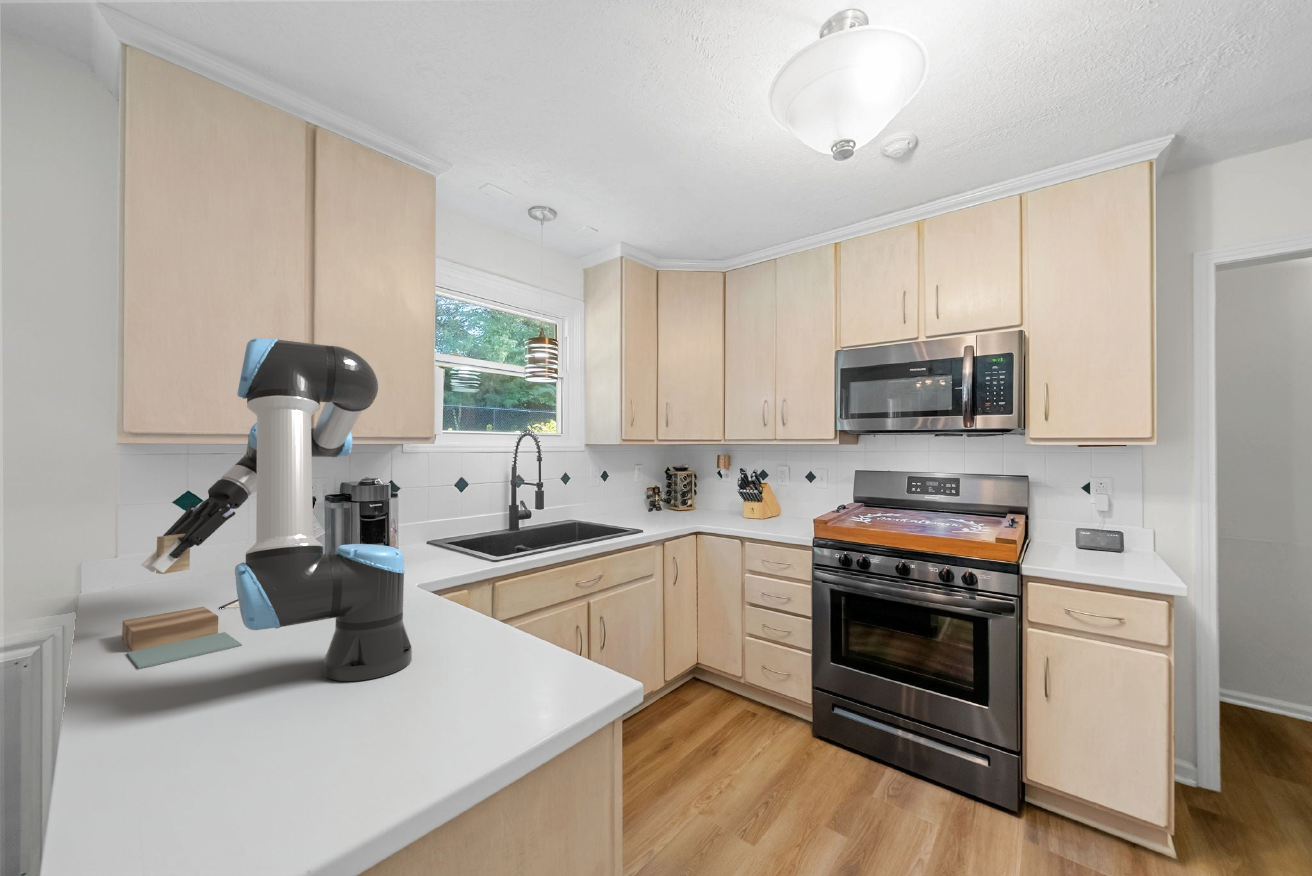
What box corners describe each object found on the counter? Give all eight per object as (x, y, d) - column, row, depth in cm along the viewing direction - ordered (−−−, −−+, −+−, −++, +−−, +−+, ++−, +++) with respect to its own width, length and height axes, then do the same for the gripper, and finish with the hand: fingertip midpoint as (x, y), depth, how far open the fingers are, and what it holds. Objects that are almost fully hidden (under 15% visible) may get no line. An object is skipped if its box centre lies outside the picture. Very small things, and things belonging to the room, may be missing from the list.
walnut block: (217, 633, 122) (218, 616, 122) (132, 651, 111) (133, 632, 111) (203, 623, 129) (203, 606, 130) (122, 638, 118) (122, 620, 119)
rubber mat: (241, 645, 115) (241, 643, 115) (138, 669, 102) (138, 666, 102) (224, 633, 122) (224, 631, 122) (126, 654, 110) (126, 652, 110)
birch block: (189, 569, 123) (190, 534, 123) (163, 573, 118) (164, 537, 118) (181, 568, 124) (182, 533, 124) (155, 573, 119) (157, 536, 119)
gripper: (268, 498, 134) (190, 581, 117) (223, 497, 138) (142, 576, 122) (246, 478, 129) (162, 560, 112) (201, 477, 133) (114, 556, 117)
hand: (152, 568), depth 117 cm, fingers closed on birch block, 2 cm apart
